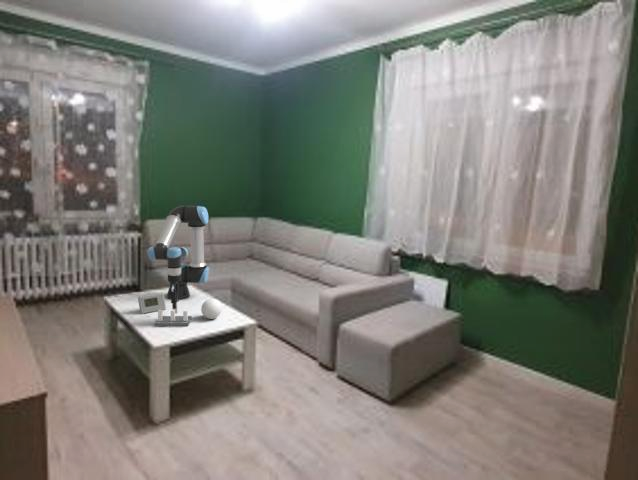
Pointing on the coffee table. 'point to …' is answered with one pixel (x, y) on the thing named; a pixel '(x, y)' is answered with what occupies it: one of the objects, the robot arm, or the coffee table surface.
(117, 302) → the coffee table surface
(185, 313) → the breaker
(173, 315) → the breaker
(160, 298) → the digital clock
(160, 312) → the breaker
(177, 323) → the board
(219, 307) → the decorative ball
